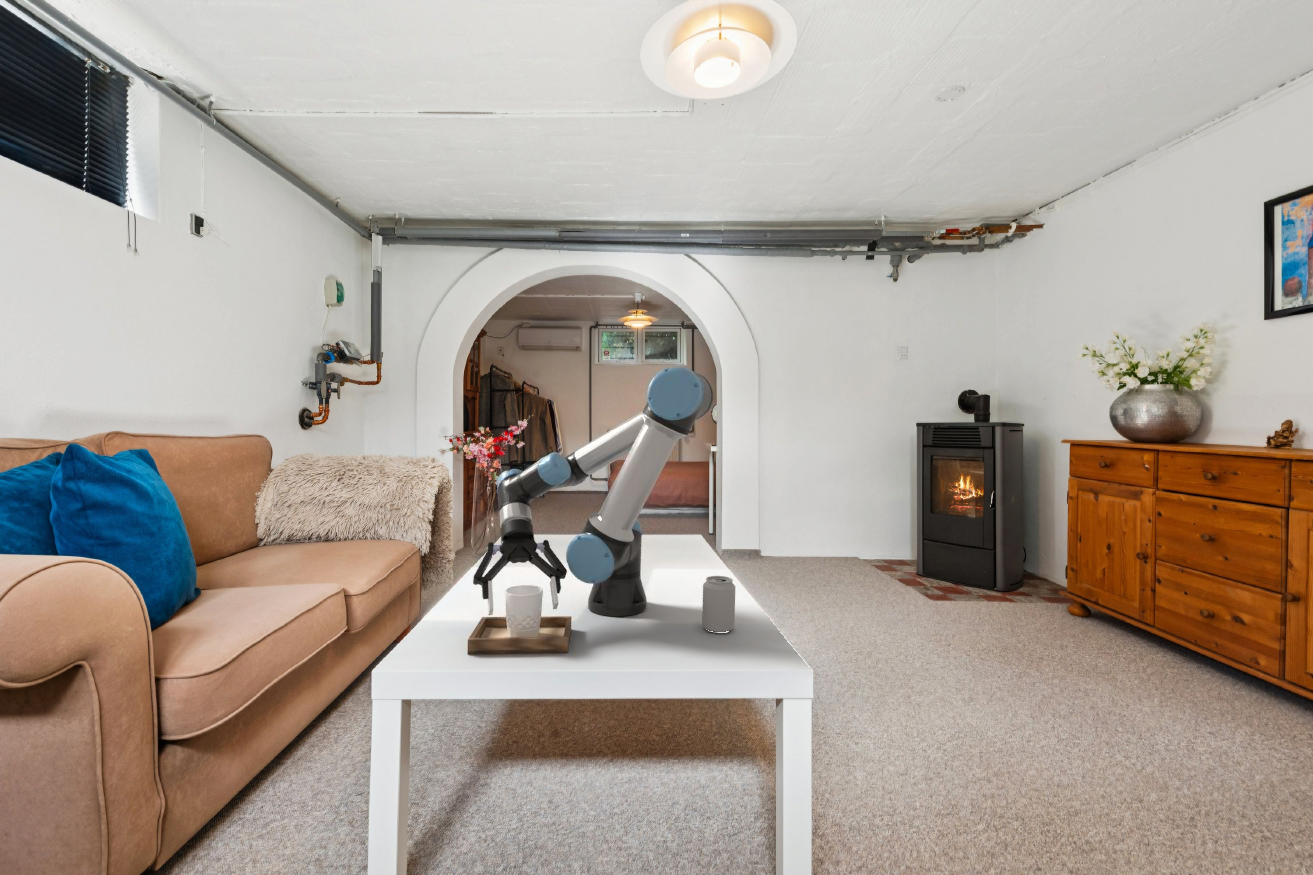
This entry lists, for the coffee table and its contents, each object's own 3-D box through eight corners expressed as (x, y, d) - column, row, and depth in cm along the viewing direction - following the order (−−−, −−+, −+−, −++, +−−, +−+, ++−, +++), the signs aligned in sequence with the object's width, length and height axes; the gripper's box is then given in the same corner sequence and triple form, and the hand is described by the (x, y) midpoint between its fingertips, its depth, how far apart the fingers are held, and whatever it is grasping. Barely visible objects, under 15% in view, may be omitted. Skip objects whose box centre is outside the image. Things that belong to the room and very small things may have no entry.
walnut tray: (571, 629, 131) (571, 616, 131) (567, 653, 117) (568, 638, 117) (481, 630, 129) (482, 616, 129) (467, 654, 115) (467, 639, 115)
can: (738, 627, 135) (739, 576, 135) (728, 637, 128) (730, 584, 128) (708, 622, 138) (709, 572, 138) (697, 631, 131) (698, 579, 131)
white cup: (532, 644, 118) (534, 596, 118) (497, 640, 120) (498, 593, 120) (547, 631, 126) (548, 586, 126) (514, 628, 128) (515, 583, 127)
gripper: (565, 533, 142) (578, 612, 128) (460, 538, 133) (461, 622, 120) (571, 515, 137) (584, 595, 123) (461, 519, 128) (463, 605, 114)
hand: (524, 609), depth 121 cm, fingers open, 13 cm apart
